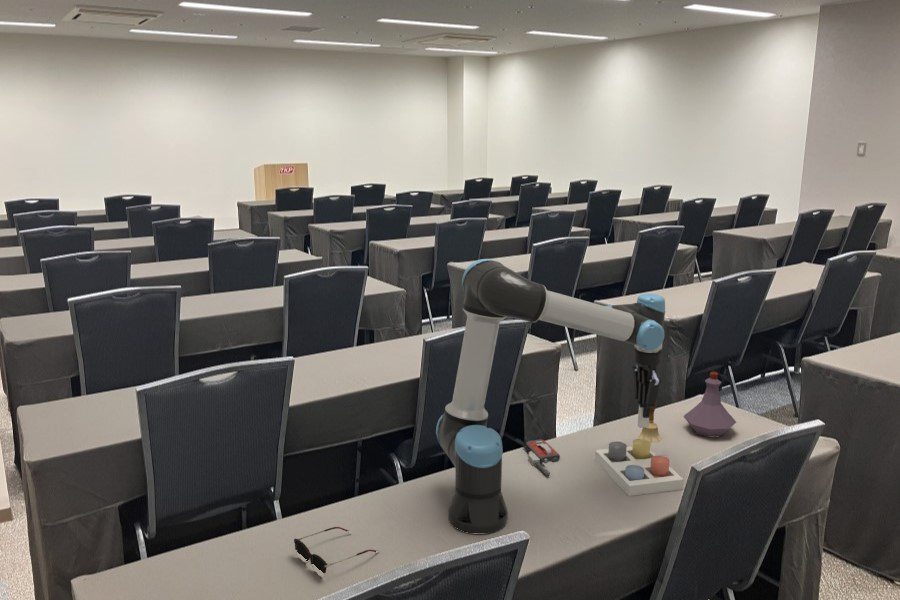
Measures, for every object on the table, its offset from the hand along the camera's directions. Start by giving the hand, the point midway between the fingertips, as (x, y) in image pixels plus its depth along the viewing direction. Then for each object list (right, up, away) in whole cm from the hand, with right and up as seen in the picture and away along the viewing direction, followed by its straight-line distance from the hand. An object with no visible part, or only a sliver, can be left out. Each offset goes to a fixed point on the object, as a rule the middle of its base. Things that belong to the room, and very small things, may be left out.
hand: (643, 426), depth 218 cm
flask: (+28, -6, +27) cm, 40 cm away
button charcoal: (-7, -9, +1) cm, 12 cm away
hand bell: (+7, -8, +20) cm, 23 cm away
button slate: (-5, -14, -9) cm, 17 cm away
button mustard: (0, -9, +2) cm, 9 cm away
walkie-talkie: (-28, -12, +7) cm, 31 cm away
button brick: (+2, -12, -8) cm, 14 cm away
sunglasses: (-82, -24, -40) cm, 94 cm away
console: (-3, -14, -3) cm, 14 cm away
